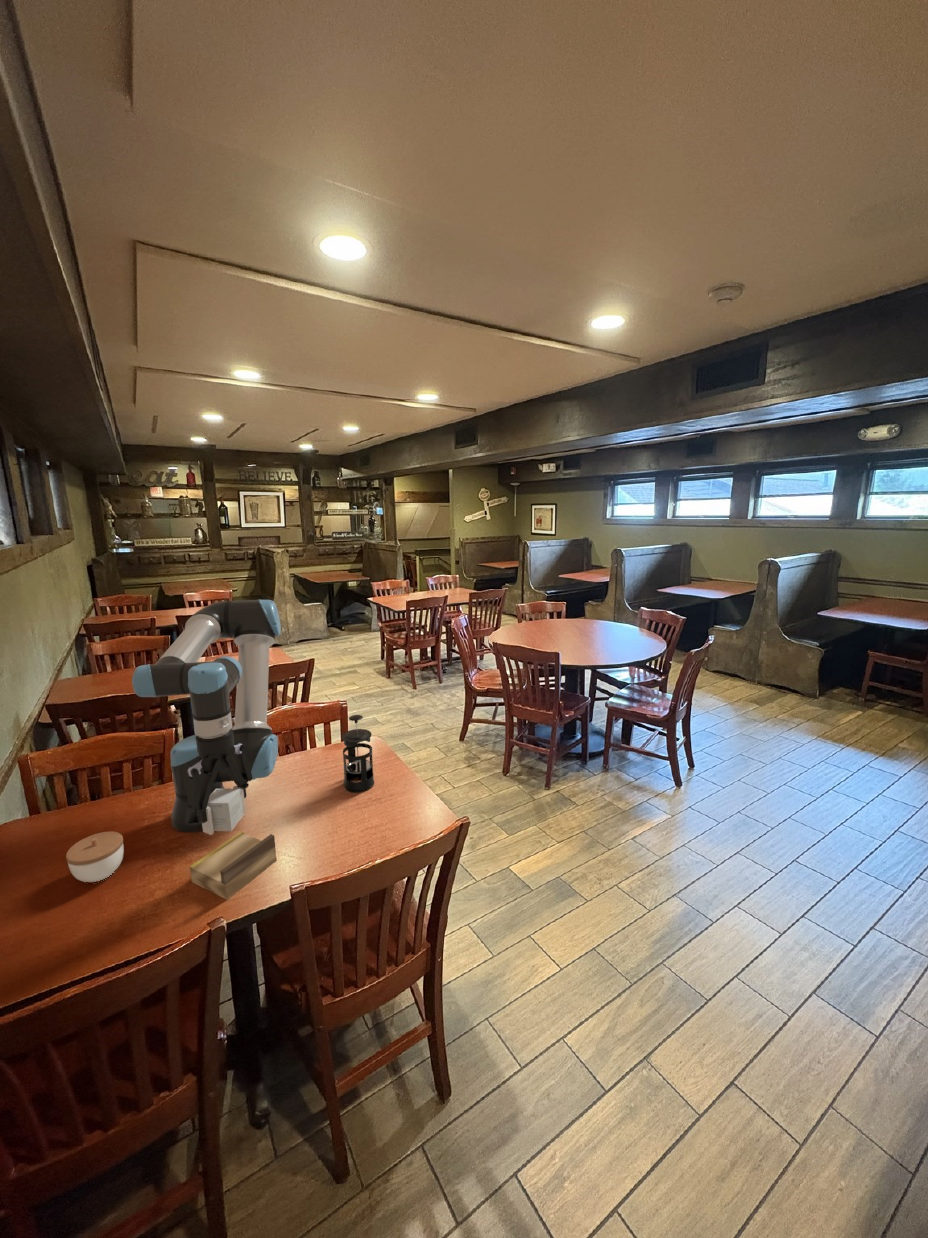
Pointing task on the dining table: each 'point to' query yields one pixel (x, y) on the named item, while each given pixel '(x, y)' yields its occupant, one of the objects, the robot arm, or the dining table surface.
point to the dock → (234, 864)
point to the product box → (225, 808)
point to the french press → (357, 759)
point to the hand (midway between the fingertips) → (225, 822)
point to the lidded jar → (96, 856)
